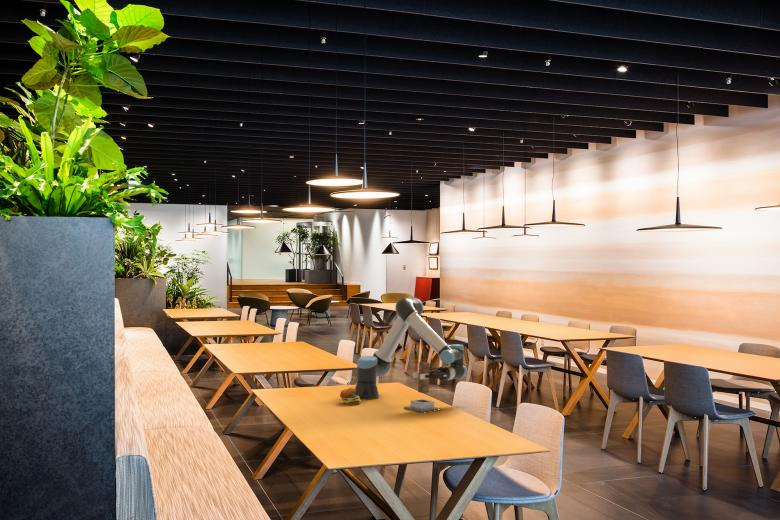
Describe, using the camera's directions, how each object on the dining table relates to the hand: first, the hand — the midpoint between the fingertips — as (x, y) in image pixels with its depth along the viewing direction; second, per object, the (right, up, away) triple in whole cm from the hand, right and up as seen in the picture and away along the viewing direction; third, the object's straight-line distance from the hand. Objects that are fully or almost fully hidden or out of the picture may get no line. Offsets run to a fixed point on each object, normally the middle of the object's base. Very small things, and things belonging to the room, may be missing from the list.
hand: (417, 376), depth 358 cm
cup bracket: (+3, -19, +3) cm, 19 cm away
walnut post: (+3, -9, +4) cm, 10 cm away
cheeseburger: (-37, -17, +10) cm, 42 cm away
